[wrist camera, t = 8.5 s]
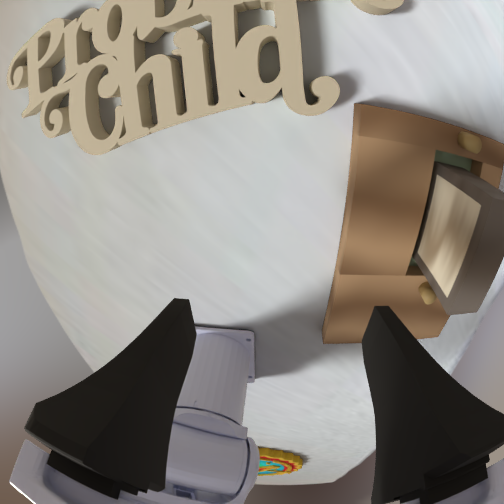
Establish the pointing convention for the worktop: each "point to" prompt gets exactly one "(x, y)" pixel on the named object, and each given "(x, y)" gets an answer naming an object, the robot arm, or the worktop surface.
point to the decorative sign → (163, 67)
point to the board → (395, 218)
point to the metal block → (460, 237)
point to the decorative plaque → (277, 462)
